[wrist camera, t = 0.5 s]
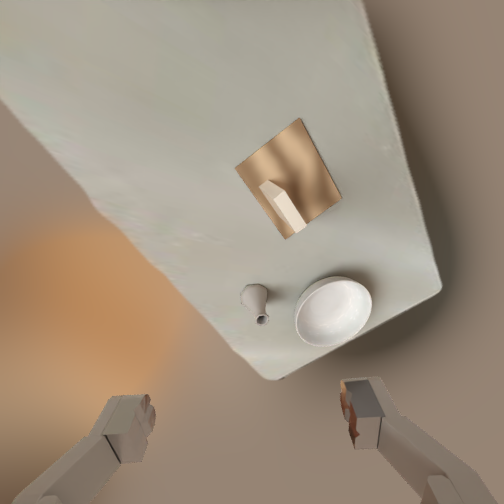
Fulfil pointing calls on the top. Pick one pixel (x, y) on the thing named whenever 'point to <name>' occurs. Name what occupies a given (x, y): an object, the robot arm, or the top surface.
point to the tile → (283, 205)
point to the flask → (256, 302)
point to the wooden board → (290, 175)
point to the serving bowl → (332, 311)
